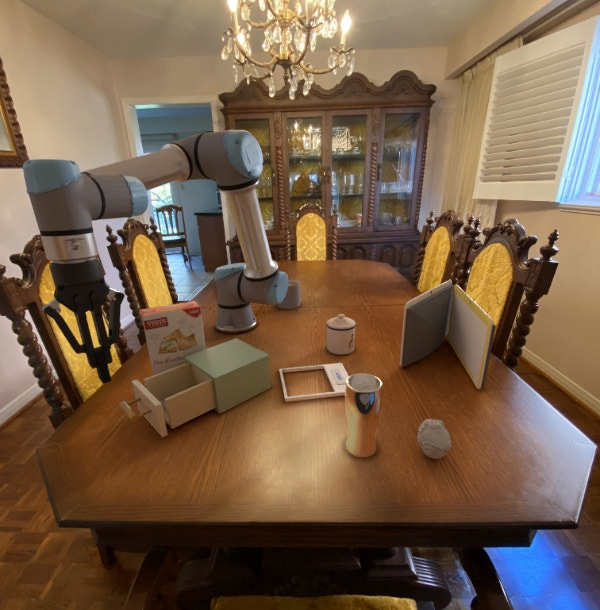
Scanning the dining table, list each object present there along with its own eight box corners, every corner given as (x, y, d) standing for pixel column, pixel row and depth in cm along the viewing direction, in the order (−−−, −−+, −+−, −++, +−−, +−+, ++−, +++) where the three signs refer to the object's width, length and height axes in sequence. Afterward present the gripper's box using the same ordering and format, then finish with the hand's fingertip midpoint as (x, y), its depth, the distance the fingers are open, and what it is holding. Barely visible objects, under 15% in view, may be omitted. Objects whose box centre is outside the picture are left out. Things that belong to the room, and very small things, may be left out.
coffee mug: (299, 300, 156) (298, 279, 152) (301, 308, 147) (300, 285, 143) (269, 302, 155) (268, 280, 151) (269, 310, 145) (268, 287, 142)
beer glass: (340, 436, 72) (341, 373, 67) (372, 433, 73) (377, 371, 67) (347, 460, 66) (349, 393, 60) (383, 457, 66) (388, 391, 61)
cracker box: (156, 390, 90) (141, 315, 82) (154, 380, 95) (139, 308, 87) (210, 376, 96) (200, 305, 88) (205, 367, 101) (195, 299, 93)
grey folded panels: (495, 391, 86) (510, 318, 79) (405, 388, 88) (412, 317, 81) (452, 334, 118) (461, 278, 111) (387, 333, 120) (392, 278, 113)
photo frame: (357, 390, 86) (285, 397, 83) (356, 393, 86) (285, 401, 84) (341, 362, 99) (279, 368, 97) (341, 365, 100) (279, 371, 97)
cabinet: (219, 414, 80) (214, 378, 77) (189, 389, 90) (184, 357, 87) (271, 387, 90) (269, 354, 87) (239, 368, 100) (236, 338, 97)
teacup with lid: (354, 356, 105) (356, 320, 101) (324, 354, 106) (325, 319, 102) (355, 339, 116) (356, 307, 112) (328, 338, 118) (328, 306, 113)
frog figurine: (440, 440, 70) (444, 412, 68) (455, 467, 64) (461, 436, 61) (410, 442, 70) (413, 413, 68) (423, 468, 64) (427, 438, 61)
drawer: (141, 448, 69) (133, 415, 66) (118, 418, 78) (111, 388, 75) (222, 407, 81) (218, 378, 78) (194, 385, 90) (190, 359, 87)
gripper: (31, 269, 52) (71, 401, 61) (122, 256, 61) (146, 374, 69) (24, 262, 57) (62, 385, 66) (108, 251, 66) (132, 362, 74)
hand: (105, 379), depth 67 cm, fingers closed
